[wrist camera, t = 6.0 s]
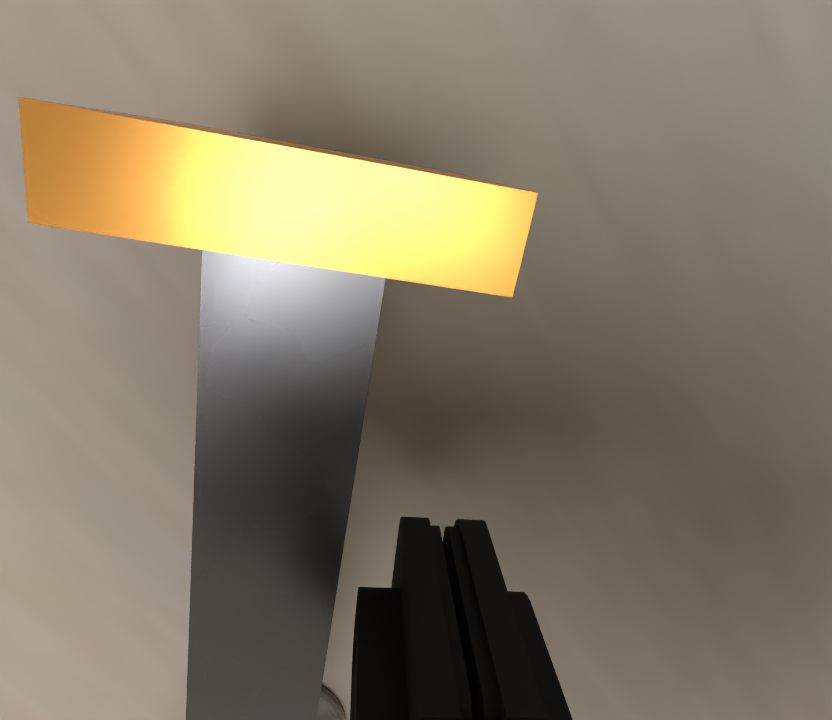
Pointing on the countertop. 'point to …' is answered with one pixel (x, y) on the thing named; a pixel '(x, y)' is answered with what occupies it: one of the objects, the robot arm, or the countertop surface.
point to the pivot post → (329, 706)
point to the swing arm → (271, 351)
